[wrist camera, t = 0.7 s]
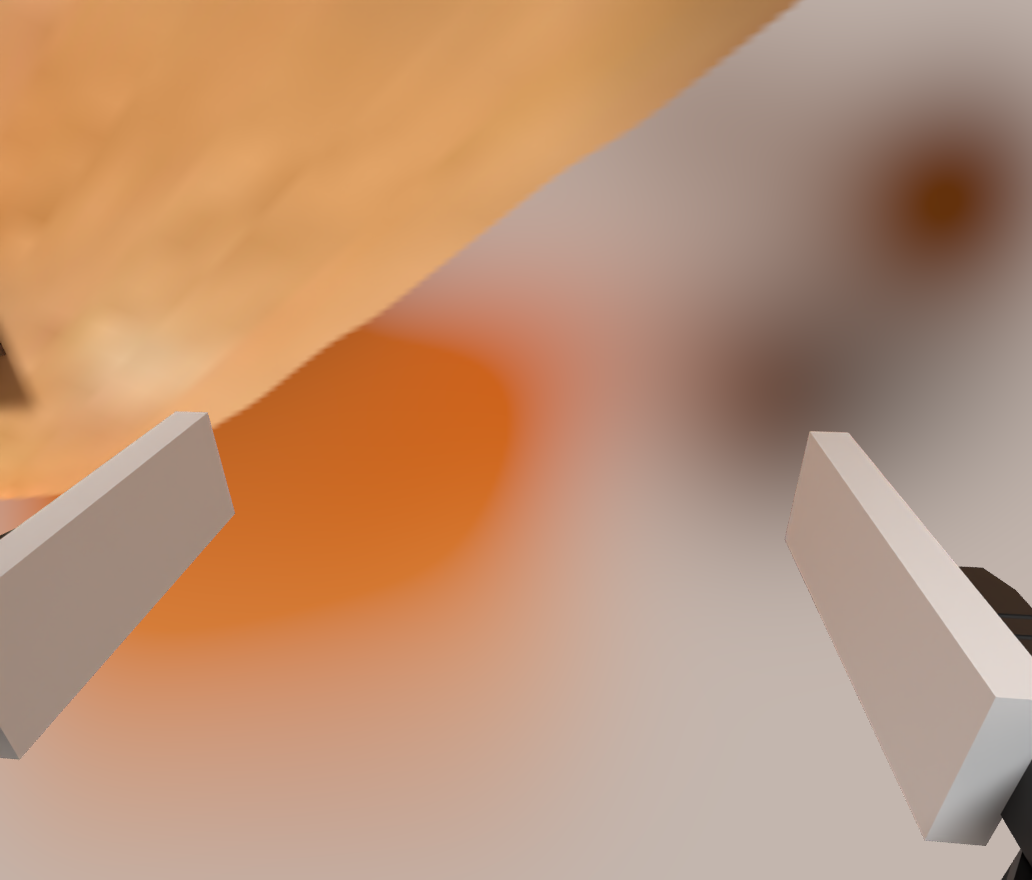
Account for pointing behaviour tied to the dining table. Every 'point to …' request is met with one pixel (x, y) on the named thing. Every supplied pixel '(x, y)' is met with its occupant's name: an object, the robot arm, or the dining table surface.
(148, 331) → the dining table surface
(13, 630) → the robot arm
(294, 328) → the dining table surface
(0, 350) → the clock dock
